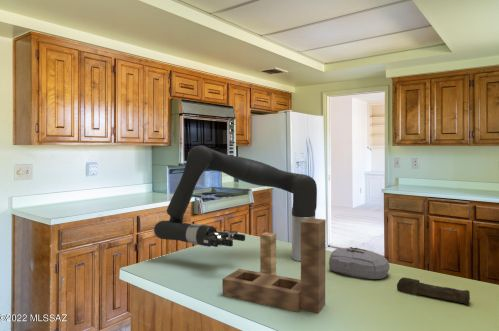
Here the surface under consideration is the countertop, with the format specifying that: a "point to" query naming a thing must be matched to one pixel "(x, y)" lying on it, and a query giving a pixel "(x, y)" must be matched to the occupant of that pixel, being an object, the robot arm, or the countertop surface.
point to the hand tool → (433, 291)
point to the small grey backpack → (359, 263)
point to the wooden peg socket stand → (283, 288)
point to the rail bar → (268, 253)
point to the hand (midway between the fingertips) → (238, 240)
